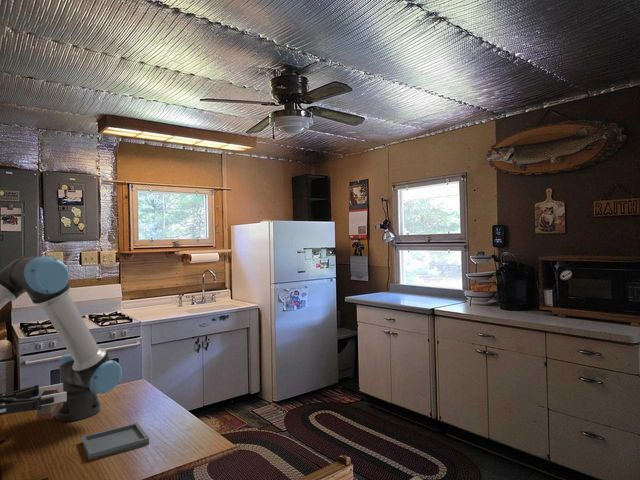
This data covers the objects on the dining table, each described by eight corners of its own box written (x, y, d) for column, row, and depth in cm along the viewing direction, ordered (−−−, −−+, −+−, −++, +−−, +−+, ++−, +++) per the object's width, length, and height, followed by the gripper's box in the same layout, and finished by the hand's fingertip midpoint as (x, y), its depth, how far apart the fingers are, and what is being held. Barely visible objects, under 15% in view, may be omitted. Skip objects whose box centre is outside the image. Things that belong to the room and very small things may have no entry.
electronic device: (64, 407, 138) (63, 383, 138) (52, 419, 129) (51, 394, 129) (48, 408, 137) (48, 385, 137) (35, 421, 128) (35, 395, 128)
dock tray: (81, 442, 139) (81, 436, 139) (137, 428, 149) (137, 422, 149) (89, 461, 127) (89, 454, 127) (149, 444, 137) (149, 437, 137)
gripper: (-25, 410, 131) (61, 394, 144) (-30, 436, 113) (69, 414, 126) (-25, 385, 131) (60, 371, 144) (-30, 407, 113) (68, 389, 126)
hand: (64, 391), depth 135 cm, fingers closed on electronic device, 9 cm apart
